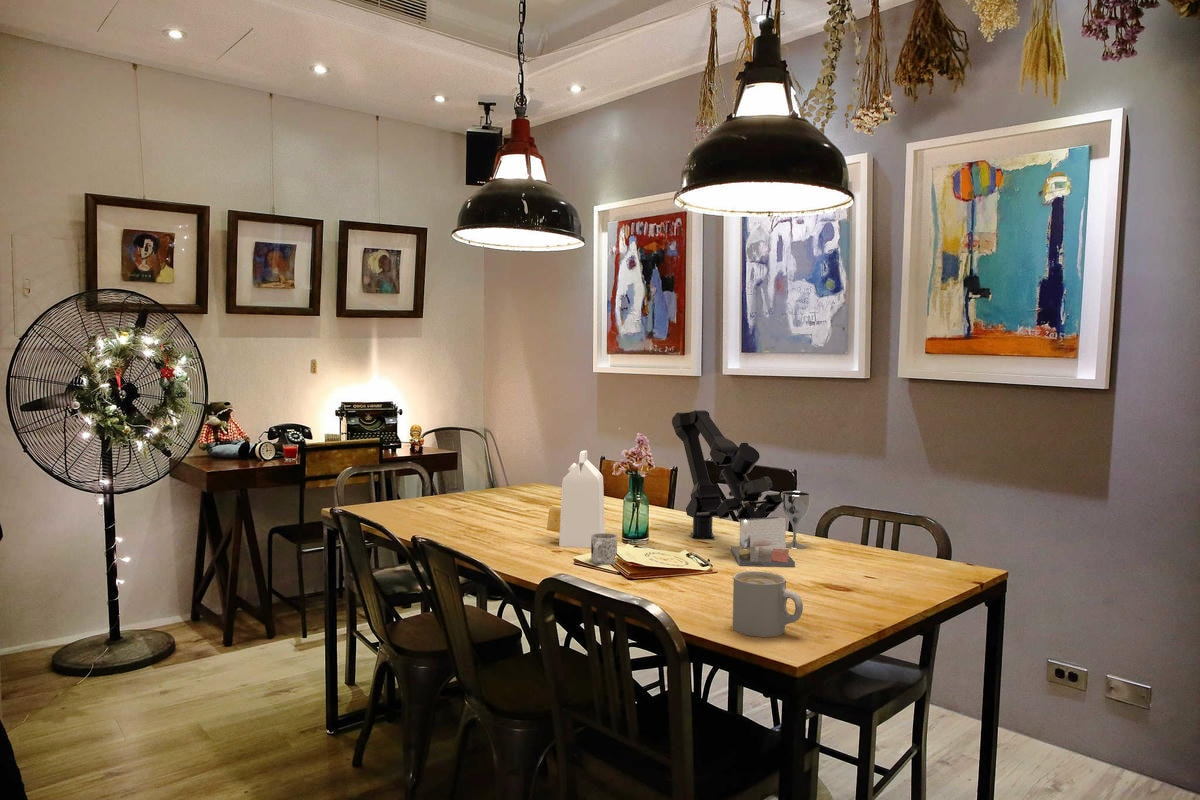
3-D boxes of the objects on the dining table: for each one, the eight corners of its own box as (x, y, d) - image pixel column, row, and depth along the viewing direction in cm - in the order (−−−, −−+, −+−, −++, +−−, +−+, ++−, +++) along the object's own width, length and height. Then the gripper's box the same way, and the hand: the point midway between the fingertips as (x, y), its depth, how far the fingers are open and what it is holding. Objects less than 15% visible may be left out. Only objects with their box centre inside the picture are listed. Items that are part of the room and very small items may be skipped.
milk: (600, 548, 226) (601, 454, 225) (559, 546, 227) (560, 453, 226) (605, 539, 238) (606, 449, 237) (565, 537, 239) (566, 448, 238)
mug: (596, 557, 215) (596, 532, 215) (620, 559, 213) (620, 534, 213) (582, 566, 206) (582, 539, 206) (606, 568, 204) (607, 542, 203)
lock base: (730, 550, 225) (730, 537, 225) (781, 551, 225) (782, 538, 224) (739, 566, 208) (739, 552, 207) (795, 567, 207) (795, 553, 207)
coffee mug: (722, 628, 159) (723, 577, 158) (750, 617, 166) (751, 568, 165) (783, 645, 149) (784, 591, 149) (810, 632, 157) (811, 581, 156)
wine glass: (806, 543, 235) (807, 491, 235) (810, 549, 228) (812, 495, 227) (778, 542, 236) (779, 490, 236) (781, 548, 228) (783, 495, 228)
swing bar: (742, 548, 210) (743, 520, 210) (737, 545, 213) (738, 518, 213) (786, 544, 215) (786, 518, 215) (780, 542, 217) (780, 516, 217)
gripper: (724, 469, 214) (750, 519, 205) (779, 464, 223) (806, 512, 214) (706, 492, 222) (729, 542, 213) (760, 487, 231) (785, 535, 222)
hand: (763, 532), depth 215 cm, fingers closed
